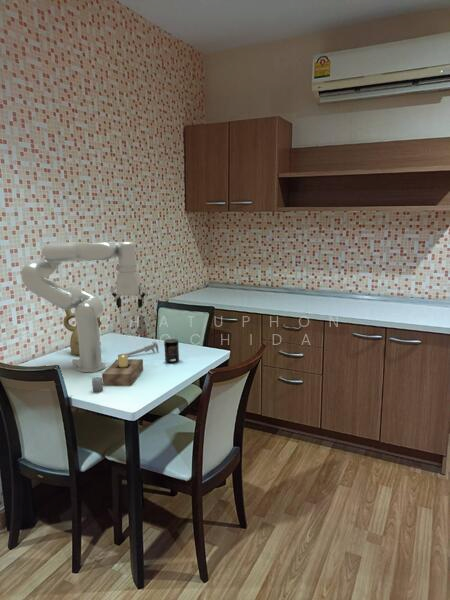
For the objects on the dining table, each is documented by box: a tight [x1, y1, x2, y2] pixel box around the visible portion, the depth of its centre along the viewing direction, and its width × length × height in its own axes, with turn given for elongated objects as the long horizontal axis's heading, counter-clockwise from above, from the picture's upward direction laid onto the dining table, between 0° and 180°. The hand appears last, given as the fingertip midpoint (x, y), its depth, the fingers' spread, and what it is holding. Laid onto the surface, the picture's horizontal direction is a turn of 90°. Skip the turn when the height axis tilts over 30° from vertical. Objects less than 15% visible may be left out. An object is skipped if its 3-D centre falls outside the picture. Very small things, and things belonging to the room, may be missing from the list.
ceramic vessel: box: [63, 309, 102, 356], centre depth 240 cm, size 17×20×25 cm
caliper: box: [125, 341, 159, 357], centre depth 234 cm, size 20×1×6 cm, turn 114°
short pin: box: [91, 376, 104, 394], centre depth 187 cm, size 4×4×5 cm
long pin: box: [117, 353, 129, 368], centre depth 202 cm, size 4×4×10 cm
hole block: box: [101, 358, 144, 387], centre depth 202 cm, size 12×20×5 cm, turn 176°
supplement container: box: [163, 338, 180, 365], centre depth 222 cm, size 7×7×10 cm
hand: (129, 307), depth 210 cm, fingers open, 9 cm apart
